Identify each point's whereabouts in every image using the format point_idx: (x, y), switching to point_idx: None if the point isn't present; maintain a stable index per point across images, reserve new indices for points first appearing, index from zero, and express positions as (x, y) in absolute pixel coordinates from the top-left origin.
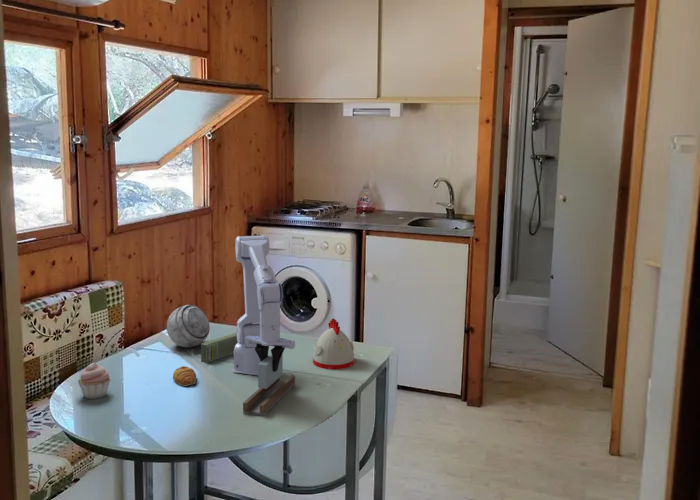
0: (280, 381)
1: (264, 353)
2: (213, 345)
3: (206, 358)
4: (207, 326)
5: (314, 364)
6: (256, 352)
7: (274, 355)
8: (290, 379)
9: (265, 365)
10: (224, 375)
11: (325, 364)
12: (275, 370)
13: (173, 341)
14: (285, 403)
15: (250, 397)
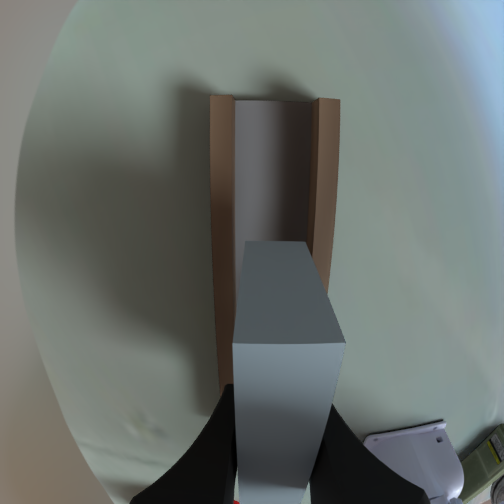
0: None
1: (326, 495)
2: (497, 466)
3: (502, 433)
4: (498, 499)
5: (235, 501)
6: (404, 479)
7: (193, 483)
8: None
9: (245, 340)
10: (465, 397)
11: None
12: (223, 392)
13: None
14: (180, 268)
15: (330, 182)
